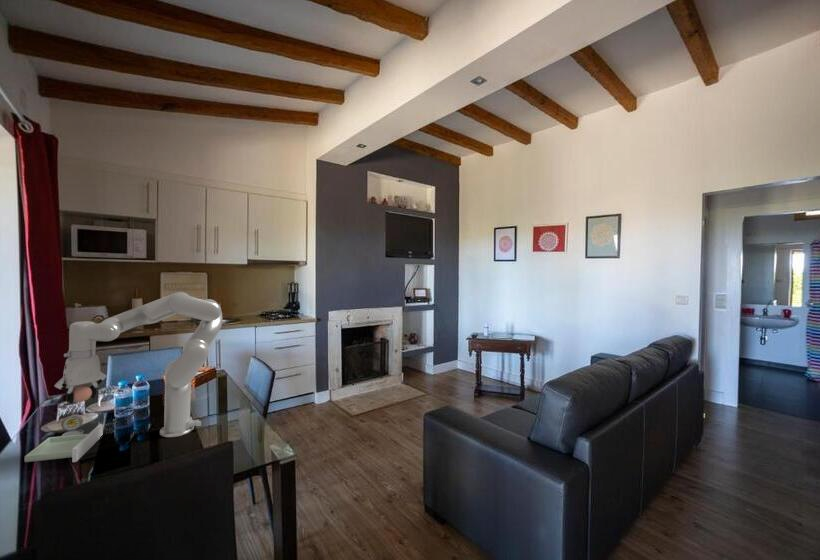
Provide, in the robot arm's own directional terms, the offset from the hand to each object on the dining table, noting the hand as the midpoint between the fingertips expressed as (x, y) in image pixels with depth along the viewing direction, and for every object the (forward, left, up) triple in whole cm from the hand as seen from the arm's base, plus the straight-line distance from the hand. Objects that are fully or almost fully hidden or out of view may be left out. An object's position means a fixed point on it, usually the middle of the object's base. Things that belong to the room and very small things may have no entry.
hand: (81, 399), depth 137 cm
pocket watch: (+9, -14, -20) cm, 26 cm away
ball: (0, 0, +2) cm, 2 cm away
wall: (-2, 0, -20) cm, 20 cm away
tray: (+7, -1, -20) cm, 21 cm away
